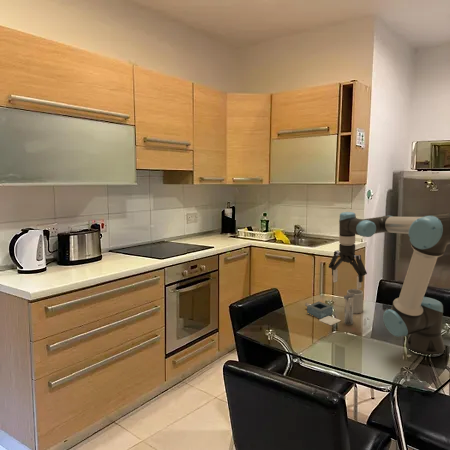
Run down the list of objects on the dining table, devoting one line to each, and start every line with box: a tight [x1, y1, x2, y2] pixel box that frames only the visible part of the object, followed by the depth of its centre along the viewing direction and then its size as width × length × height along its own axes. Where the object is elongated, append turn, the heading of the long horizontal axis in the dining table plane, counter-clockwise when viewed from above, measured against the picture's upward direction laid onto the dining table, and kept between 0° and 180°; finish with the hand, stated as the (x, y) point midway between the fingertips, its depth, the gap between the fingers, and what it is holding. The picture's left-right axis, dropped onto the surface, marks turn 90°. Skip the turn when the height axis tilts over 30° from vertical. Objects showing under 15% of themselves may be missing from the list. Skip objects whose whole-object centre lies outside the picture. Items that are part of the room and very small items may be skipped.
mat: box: [318, 315, 342, 326], centre depth 211 cm, size 8×8×1 cm
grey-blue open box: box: [304, 301, 334, 320], centre depth 222 cm, size 14×10×4 cm, turn 37°
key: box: [343, 293, 354, 326], centre depth 206 cm, size 4×6×15 cm, turn 127°
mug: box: [346, 288, 364, 315], centre depth 223 cm, size 12×8×11 cm
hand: (346, 285), depth 204 cm, fingers open, 13 cm apart
